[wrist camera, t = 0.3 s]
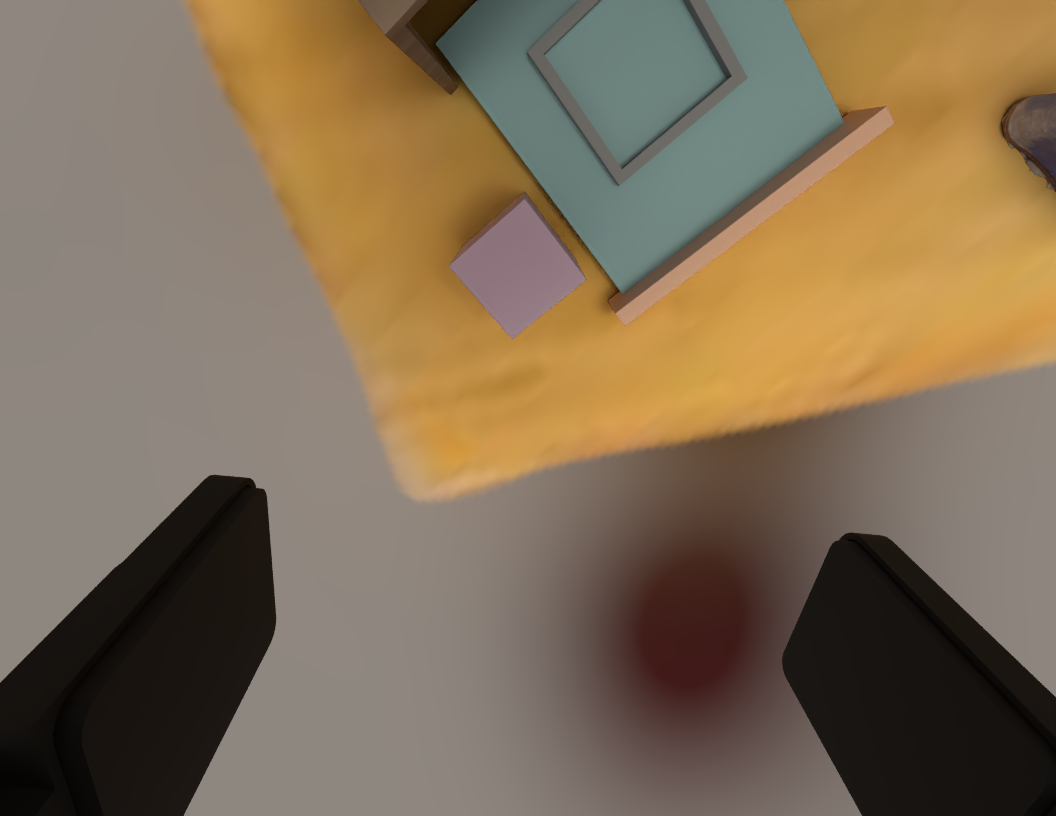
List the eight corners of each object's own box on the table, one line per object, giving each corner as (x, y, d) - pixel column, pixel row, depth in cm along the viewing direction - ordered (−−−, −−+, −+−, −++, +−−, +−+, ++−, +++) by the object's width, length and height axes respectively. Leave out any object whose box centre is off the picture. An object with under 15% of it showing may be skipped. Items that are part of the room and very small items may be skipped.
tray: (424, 61, 29) (413, 50, 26) (691, -216, 24) (714, -267, 21) (616, 312, 35) (624, 326, 32) (859, 126, 30) (894, 123, 27)
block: (524, 191, 32) (524, 198, 26) (574, 257, 34) (586, 279, 27) (462, 245, 33) (448, 266, 27) (514, 306, 35) (512, 339, 29)
